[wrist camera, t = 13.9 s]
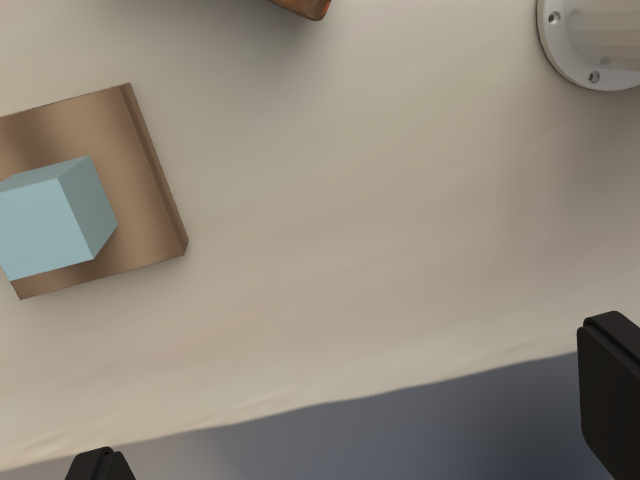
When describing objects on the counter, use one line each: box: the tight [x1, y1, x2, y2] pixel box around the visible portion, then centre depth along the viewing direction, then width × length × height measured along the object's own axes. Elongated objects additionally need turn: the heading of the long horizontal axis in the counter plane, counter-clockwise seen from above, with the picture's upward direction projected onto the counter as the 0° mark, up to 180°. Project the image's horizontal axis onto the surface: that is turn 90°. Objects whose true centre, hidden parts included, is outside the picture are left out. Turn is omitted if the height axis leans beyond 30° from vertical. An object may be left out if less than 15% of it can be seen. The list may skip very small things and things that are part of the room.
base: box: [0, 83, 188, 300], centre depth 36 cm, size 12×12×3 cm
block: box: [0, 155, 118, 281], centre depth 32 cm, size 5×5×6 cm
